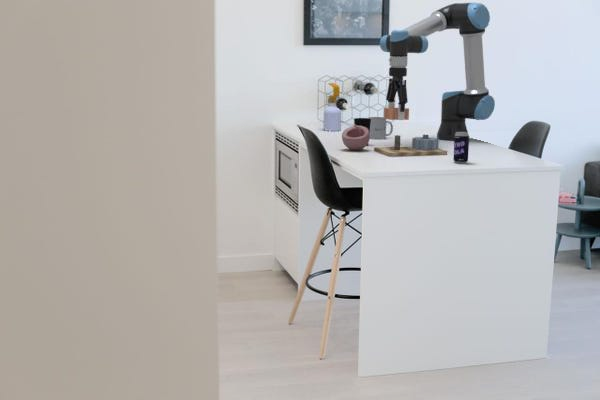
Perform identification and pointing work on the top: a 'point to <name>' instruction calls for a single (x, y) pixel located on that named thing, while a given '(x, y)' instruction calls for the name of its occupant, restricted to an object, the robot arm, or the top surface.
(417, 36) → the robot arm
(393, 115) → the loose gear
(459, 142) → the beverage can
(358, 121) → the cup
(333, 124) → the soap bottle
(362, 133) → the mortar and pestle
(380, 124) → the mug
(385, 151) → the gear board
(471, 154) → the top surface
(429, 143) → the seated gear
